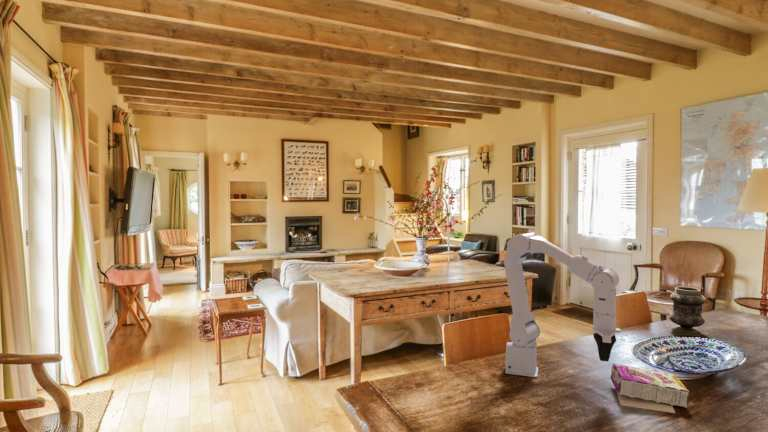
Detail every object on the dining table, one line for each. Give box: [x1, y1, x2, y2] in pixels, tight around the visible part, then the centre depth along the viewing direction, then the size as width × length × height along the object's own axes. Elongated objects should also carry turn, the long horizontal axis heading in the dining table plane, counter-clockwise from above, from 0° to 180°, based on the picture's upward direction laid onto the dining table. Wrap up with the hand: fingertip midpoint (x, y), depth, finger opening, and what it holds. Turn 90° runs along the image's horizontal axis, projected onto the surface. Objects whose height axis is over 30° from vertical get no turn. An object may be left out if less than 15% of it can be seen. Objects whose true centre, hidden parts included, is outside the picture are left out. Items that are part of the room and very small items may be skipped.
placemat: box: [615, 389, 676, 414], centre depth 122 cm, size 12×13×1 cm
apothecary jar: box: [668, 285, 706, 337], centre depth 180 cm, size 12×12×18 cm
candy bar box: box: [610, 363, 690, 409], centre depth 123 cm, size 11×5×16 cm
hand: (604, 360), depth 125 cm, fingers closed
